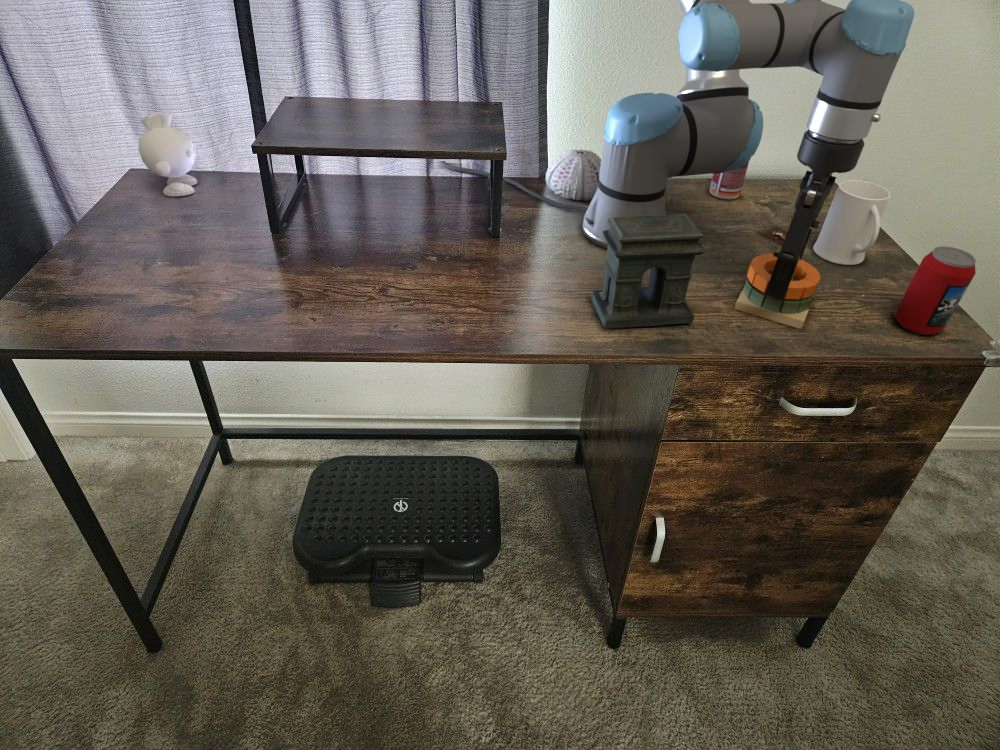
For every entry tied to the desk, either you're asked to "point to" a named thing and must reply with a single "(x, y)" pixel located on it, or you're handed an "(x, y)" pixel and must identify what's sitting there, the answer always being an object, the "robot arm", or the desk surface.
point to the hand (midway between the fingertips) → (782, 280)
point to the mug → (852, 222)
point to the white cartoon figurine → (168, 153)
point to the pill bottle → (728, 183)
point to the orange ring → (796, 288)
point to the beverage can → (936, 290)
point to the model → (634, 252)
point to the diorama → (776, 235)
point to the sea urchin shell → (575, 174)
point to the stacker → (774, 305)
